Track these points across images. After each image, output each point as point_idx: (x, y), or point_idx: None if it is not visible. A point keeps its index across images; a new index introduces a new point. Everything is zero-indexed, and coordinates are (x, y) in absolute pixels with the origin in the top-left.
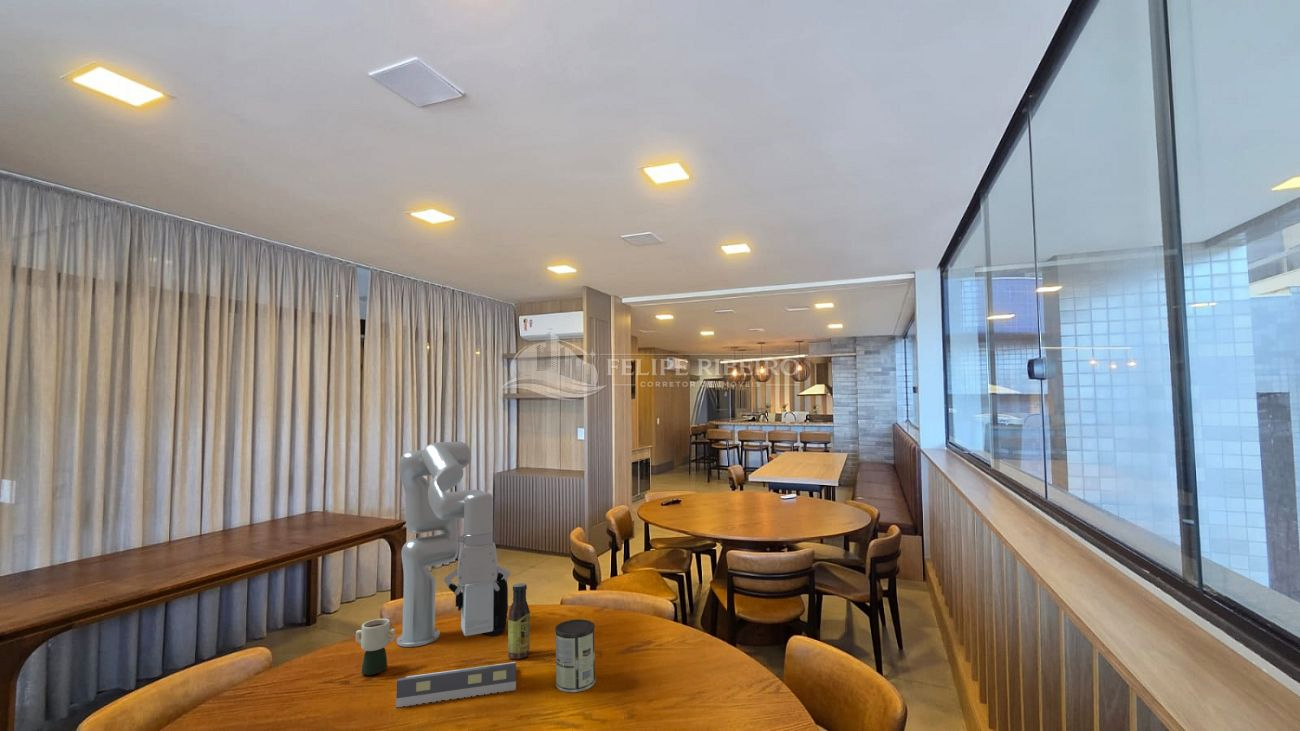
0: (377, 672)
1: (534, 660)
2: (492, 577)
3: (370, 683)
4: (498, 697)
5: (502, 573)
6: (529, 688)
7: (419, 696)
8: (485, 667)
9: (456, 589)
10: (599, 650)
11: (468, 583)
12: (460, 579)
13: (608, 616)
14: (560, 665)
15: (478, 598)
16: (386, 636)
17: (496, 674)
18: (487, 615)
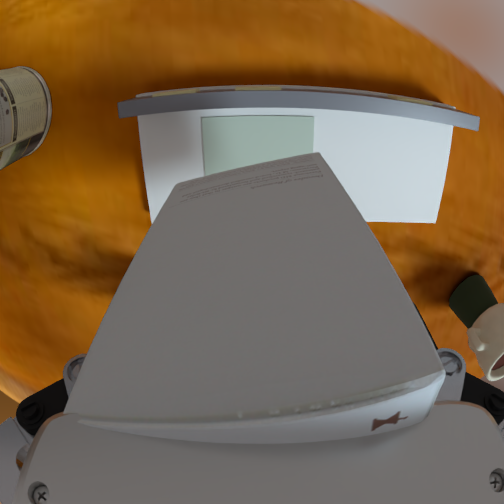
0: (467, 278)
1: (118, 252)
2: (55, 463)
3: (478, 245)
4: (188, 61)
5: (17, 476)
6: (109, 96)
7: (407, 97)
8: (221, 101)
9: (461, 384)
10: (4, 258)
11: (393, 432)
12: (493, 458)
13: (40, 378)
14: (5, 84)
15: (248, 271)
16: (486, 333)
17: (185, 90)
18: (188, 209)
